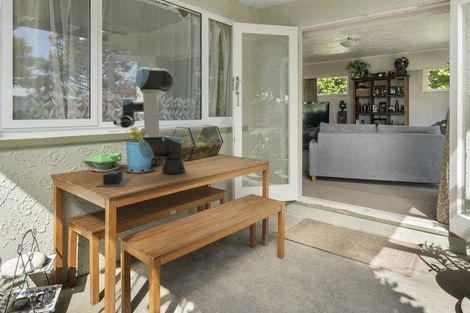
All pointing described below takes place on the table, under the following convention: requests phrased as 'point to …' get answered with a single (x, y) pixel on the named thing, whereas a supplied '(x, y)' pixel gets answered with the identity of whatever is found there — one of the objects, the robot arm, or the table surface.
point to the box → (112, 177)
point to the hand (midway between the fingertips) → (117, 123)
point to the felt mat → (122, 183)
